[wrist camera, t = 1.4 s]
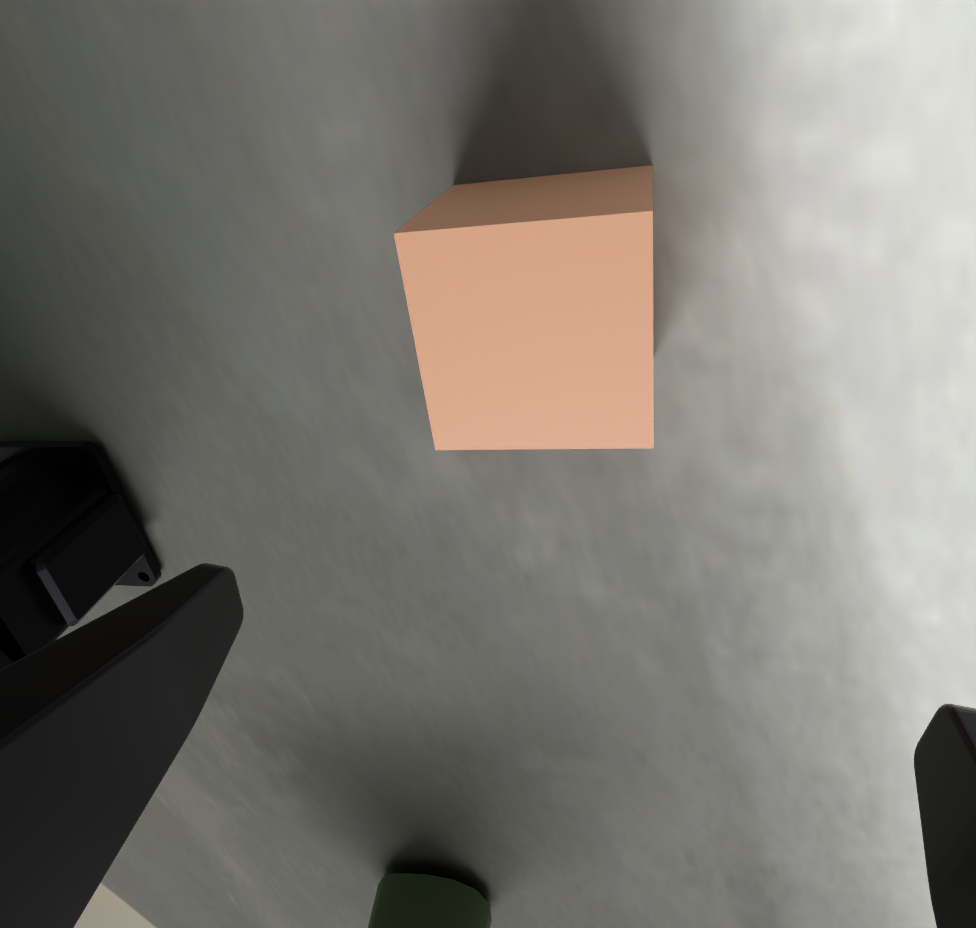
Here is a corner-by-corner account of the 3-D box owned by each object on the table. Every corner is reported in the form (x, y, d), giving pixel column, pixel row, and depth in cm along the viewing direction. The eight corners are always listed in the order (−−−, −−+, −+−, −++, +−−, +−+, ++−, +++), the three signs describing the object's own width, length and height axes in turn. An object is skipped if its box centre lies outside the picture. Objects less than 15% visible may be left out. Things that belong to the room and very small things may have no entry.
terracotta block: (479, 363, 20) (435, 449, 16) (453, 184, 18) (394, 233, 14) (653, 356, 19) (653, 447, 15) (652, 164, 17) (652, 210, 13)
